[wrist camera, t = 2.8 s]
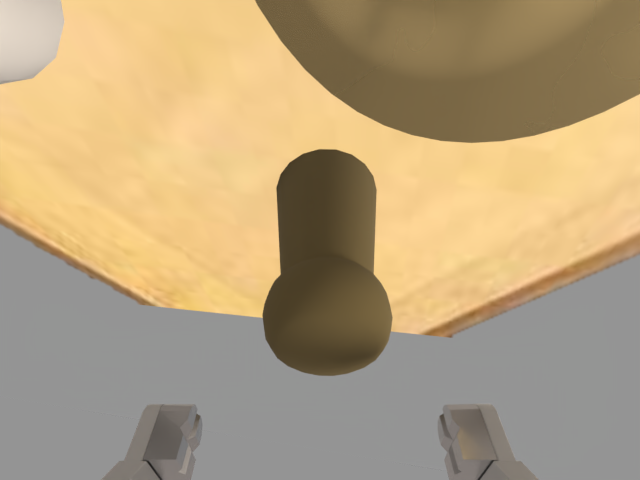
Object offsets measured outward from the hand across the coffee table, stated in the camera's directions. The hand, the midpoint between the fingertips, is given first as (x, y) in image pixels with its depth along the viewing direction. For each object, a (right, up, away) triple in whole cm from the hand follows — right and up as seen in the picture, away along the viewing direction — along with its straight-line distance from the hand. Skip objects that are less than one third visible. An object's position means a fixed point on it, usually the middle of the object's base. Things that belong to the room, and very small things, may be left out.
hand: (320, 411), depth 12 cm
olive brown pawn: (0, +9, +10) cm, 13 cm away
